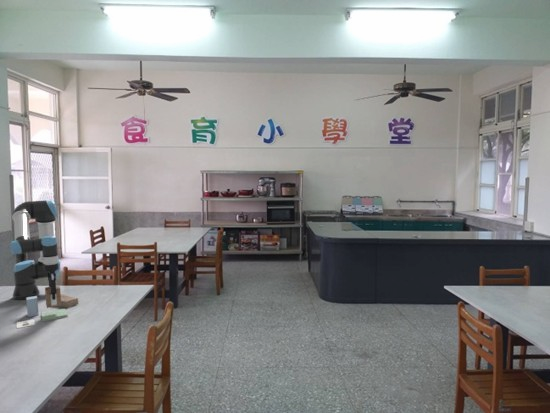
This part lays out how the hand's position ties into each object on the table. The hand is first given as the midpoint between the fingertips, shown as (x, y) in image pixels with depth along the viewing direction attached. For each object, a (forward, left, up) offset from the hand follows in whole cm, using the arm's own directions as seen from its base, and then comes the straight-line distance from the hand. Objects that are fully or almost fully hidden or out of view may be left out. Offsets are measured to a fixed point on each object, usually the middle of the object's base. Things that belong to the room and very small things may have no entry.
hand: (53, 303), depth 221 cm
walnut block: (0, 0, -1) cm, 1 cm away
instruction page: (+4, -14, -7) cm, 16 cm away
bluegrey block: (-10, -10, -8) cm, 16 cm away
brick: (-20, +7, -8) cm, 23 cm away
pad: (0, 0, -7) cm, 7 cm away
